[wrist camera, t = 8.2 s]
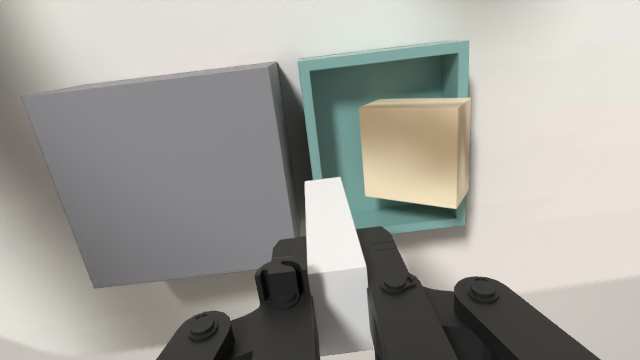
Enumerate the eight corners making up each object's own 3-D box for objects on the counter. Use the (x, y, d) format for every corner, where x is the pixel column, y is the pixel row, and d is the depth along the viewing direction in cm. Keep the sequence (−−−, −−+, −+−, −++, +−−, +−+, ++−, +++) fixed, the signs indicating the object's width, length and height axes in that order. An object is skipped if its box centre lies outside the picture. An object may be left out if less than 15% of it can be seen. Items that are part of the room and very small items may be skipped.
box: (298, 58, 25) (297, 61, 22) (447, 40, 25) (469, 40, 22) (319, 219, 29) (320, 242, 26) (447, 204, 29) (465, 225, 26)
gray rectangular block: (84, 84, 25) (21, 96, 20) (276, 61, 25) (268, 67, 20) (134, 241, 30) (94, 288, 24) (300, 222, 29) (298, 264, 24)
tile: (458, 107, 20) (471, 97, 23) (358, 107, 24) (379, 98, 26) (456, 209, 22) (468, 190, 25) (365, 196, 26) (383, 180, 28)
